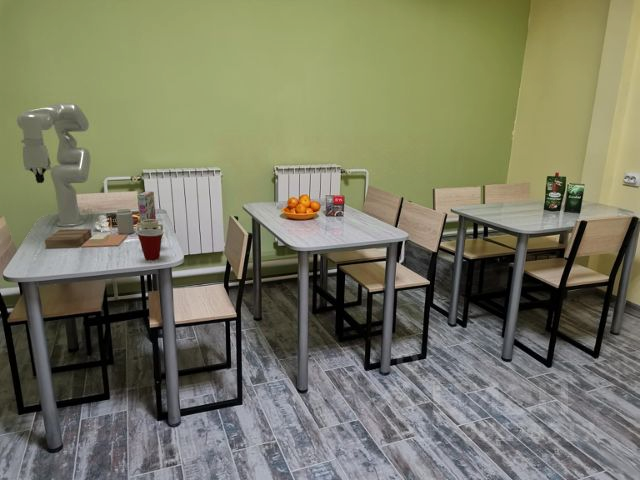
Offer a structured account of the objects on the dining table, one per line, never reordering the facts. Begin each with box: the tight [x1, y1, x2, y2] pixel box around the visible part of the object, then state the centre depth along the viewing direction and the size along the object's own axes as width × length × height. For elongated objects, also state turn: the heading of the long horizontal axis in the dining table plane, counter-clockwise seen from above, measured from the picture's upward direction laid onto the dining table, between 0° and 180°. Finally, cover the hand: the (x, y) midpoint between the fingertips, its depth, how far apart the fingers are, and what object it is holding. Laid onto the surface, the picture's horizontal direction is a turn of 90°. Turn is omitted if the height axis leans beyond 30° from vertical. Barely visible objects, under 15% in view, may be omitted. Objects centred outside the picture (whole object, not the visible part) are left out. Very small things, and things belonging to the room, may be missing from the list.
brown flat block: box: [44, 228, 93, 249], centre depth 224 cm, size 18×14×4 cm
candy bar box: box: [137, 191, 157, 226], centre depth 259 cm, size 11×5×16 cm, turn 178°
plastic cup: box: [136, 229, 164, 261], centre depth 201 cm, size 11×11×12 cm
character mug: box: [136, 218, 164, 232], centre depth 213 cm, size 11×7×13 cm, turn 111°
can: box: [115, 208, 135, 235], centre depth 239 cm, size 8×8×12 cm
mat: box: [80, 234, 129, 248], centre depth 226 cm, size 18×16×1 cm
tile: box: [88, 233, 110, 243], centre depth 225 cm, size 9×6×2 cm, turn 6°
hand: (40, 182), depth 223 cm, fingers closed
